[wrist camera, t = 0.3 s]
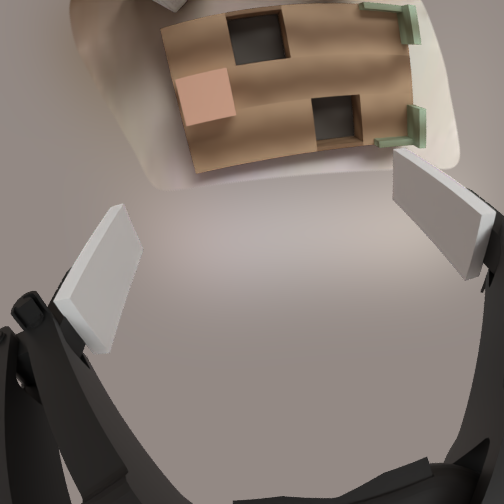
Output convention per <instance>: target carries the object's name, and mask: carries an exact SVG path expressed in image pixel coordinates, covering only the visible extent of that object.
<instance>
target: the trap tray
mask: <svg viewBox="0 0 504 504" xmlns="http://www.w3.org/2000/svg"><path fill="white" fill-rule="evenodd" d="M269 14H274V15H269ZM277 14H278V16H277ZM261 15H265V16H261ZM253 16H257V17H253ZM246 17H250V18H246ZM240 18H243V19H240ZM234 19H237V20H234ZM278 19H279V21H278ZM228 20H231V21H228ZM227 24H228V26H227ZM279 24H280V26H279ZM228 29H229V30H228ZM280 29H281V31H280ZM160 30H161V34H162V39H163V43H164V48H165V52H166V56H167V61H168V65H169V69H170V73H171V78H172V82H173V86H174V90H175V94H176V98H177V102H178V106H179V110H180V114H181V118H182V122H183V126H184V130H185V134H186V138H187V141H188V145H189V149H190V153H191V157H192V160H193V164H194V168H195V172H196V174H198V173H202V172H206V171H211V170H216V169H220V168H225V167H230V166H235V165H240V164H245V163H250V162H255V161H261V160H266V159H272V158H278V157H284V156H290V155H296V154H303V153H309V152H316V151H323V150H331V149H339V148H347V147H356V146H365V145H376V146H377V147H379V148H383V147H394V146H406V145H414V146H416V147H418V148H426V109H425V108H422V107H419V106H416V105H413V93H412V78H411V67H410V57H409V48H408V45H421V38H420V31H419V24H418V18H417V12H416V7H415V6H414V5H404V6H399V5H391V4H381V3H370V2H362V3H360V4H345V3H314V4H292V5H279V6H269V7H260V8H252V9H245V10H239V11H233V12H227V13H222V14H217V15H212V16H207V17H202V18H198V19H194V20H190V21H186V22H182V23H178V24H174V25H171V26H167V27H164V28H161V29H160ZM229 34H230V35H229ZM281 34H282V37H281ZM230 39H231V40H230ZM282 39H283V42H282ZM231 43H232V45H231ZM283 44H284V47H283ZM232 48H233V49H232ZM284 49H285V52H284ZM233 53H234V54H233ZM285 55H286V59H281V58H285ZM234 58H235V59H234ZM273 59H278V60H273ZM266 60H270V61H266ZM259 61H263V62H259ZM235 62H236V64H235ZM252 62H256V63H252ZM246 63H250V64H246ZM241 64H244V65H241ZM236 65H238V66H236ZM222 68H227V72H228V76H229V81H230V86H231V91H232V96H233V100H234V105H235V110H236V115H235V116H230V117H225V118H221V119H216V120H211V121H207V122H203V123H198V124H194V125H190V126H186V123H185V119H184V115H183V111H182V107H181V103H180V99H179V94H178V90H177V86H176V82H175V80H176V79H179V78H183V77H187V76H191V75H195V74H199V73H203V72H208V71H212V70H217V69H222ZM351 102H352V103H351ZM352 112H353V114H352ZM353 124H354V126H353ZM347 136H349V137H347ZM338 137H340V138H338ZM329 138H332V139H329ZM322 139H324V140H322Z"/></svg>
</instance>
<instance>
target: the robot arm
mask: <svg viewBox="0 0 504 504" xmlns="http://www.w3.org/2000/svg"><path fill="white" fill-rule="evenodd" d="M393 200H394V201H395V202H396V203H397V204H398V205H399V206H400V208H402V209H403V211H404V212H405V213H406V214H407V215H408V216H409V217H410V218H411V219H412V220H413V221H414V222H415V223H416V224H417V225H418V226H419V227H420V229H421V230H422V231H423V232H424V233H425V234H426V235H427V236H428V237H429V239H430V240H431V241H432V242H433V243H434V244H435V245H436V246H437V247H438V249H439V250H440V251H441V252H442V253H443V254H444V256H445V257H446V258H447V259H448V260H449V262H450V263H451V264H452V265H453V267H454V268H455V269H456V270H457V271H458V273H459V274H460V275H461V276H462V278H463V279H464V280H465V281H466V280H469V279H472V278H475V277H478V276H479V275H480V272H481V268H482V265H483V263H484V264H485V265H486V266H487V267H488V268H489V269H488V272H487V275H486V278H485V281H484V284H483V287H482V289H481V292H482V293H483V291H484V289H485V302H484V315H483V323H482V331H481V339H480V346H479V352H478V358H477V363H476V369H475V374H474V379H473V383H472V388H471V392H470V396H469V400H468V404H467V408H466V411H465V415H464V418H463V422H462V425H461V428H460V431H459V434H458V437H457V439H456V440H455V442H454V444H453V445H452V447H451V449H450V450H449V452H448V454H447V456H446V458H445V461H444V463H430V464H429V461H428V458H427V457H425V458H423V459H420V460H418V461H415V462H413V463H410V464H408V465H405V466H402V467H399V468H397V469H394V470H391V471H388V472H385V473H383V474H381V475H380V476H378V477H376V478H374V479H372V480H371V481H369V482H367V483H365V484H363V485H362V486H360V487H358V488H356V489H354V490H352V491H350V492H348V493H346V494H344V495H342V496H340V497H337V498H300V497H285V496H280V497H272V498H263V499H252V500H237V501H233V504H504V216H503V215H502V214H501V213H500V212H498V211H497V210H496V209H495V208H494V207H492V206H491V205H490V204H489V203H487V202H485V200H484V199H482V198H481V197H479V196H478V195H477V194H476V193H474V192H473V191H472V190H470V189H468V188H465V187H464V186H462V185H461V184H460V183H458V182H457V181H456V180H454V179H453V178H451V177H450V176H449V175H447V174H446V173H444V172H443V171H441V170H440V169H438V168H437V167H435V166H434V165H432V164H431V163H429V162H428V161H426V160H425V159H423V158H422V157H420V156H418V155H417V154H415V153H414V152H412V151H410V150H409V149H407V148H399V149H393ZM142 253H143V247H142V245H141V242H140V240H139V238H138V236H137V233H136V231H135V229H134V226H133V224H132V222H131V219H130V217H129V214H128V212H127V210H126V207H125V205H124V203H122V204H119V205H116V206H112V207H111V208H110V209H109V210H108V211H107V213H106V215H105V216H104V217H103V219H102V220H101V222H100V223H99V225H98V226H97V228H96V229H95V231H94V232H93V234H92V236H91V237H90V239H89V240H88V242H87V243H86V245H85V247H84V248H83V250H82V252H81V253H80V255H79V256H78V258H77V260H76V261H75V263H74V265H73V266H72V267H71V268H70V269H69V270H68V271H67V272H66V274H65V276H64V278H63V279H62V282H61V283H60V285H59V287H58V289H57V290H56V292H55V294H54V296H53V297H52V300H51V301H50V303H49V305H48V307H47V306H46V304H45V303H44V301H43V300H42V299H41V297H40V296H39V294H38V293H37V292H36V291H31V292H28V293H26V294H24V295H23V296H22V297H21V298H19V299H18V300H17V302H16V303H15V304H14V306H13V308H12V310H11V315H12V316H13V318H14V319H15V320H16V321H17V323H18V324H19V325H20V327H21V328H22V329H23V330H24V331H23V332H20V333H18V334H16V335H15V333H14V332H13V331H12V330H11V329H10V327H8V326H5V327H3V328H1V329H0V504H71V500H70V497H69V493H68V489H67V485H66V482H65V477H64V473H63V469H62V464H61V459H60V455H59V450H60V452H61V455H62V457H63V459H64V461H65V464H66V466H67V468H68V470H69V472H70V474H71V476H72V478H73V480H74V482H75V484H76V486H77V488H78V490H79V492H80V494H81V496H82V499H83V503H81V504H192V503H191V502H190V501H189V500H187V499H186V498H185V497H183V496H182V495H181V494H180V493H179V492H178V491H177V489H176V488H175V487H174V486H173V485H172V484H171V483H170V481H169V480H168V479H167V478H166V476H165V475H163V473H162V472H161V470H160V469H159V468H158V467H157V465H156V464H155V463H154V461H153V460H152V459H151V458H150V456H149V455H148V454H147V452H146V451H145V449H144V448H143V447H142V446H141V444H140V443H139V441H138V440H137V438H136V437H135V436H134V434H133V433H132V431H131V430H130V429H129V427H128V425H127V424H126V422H125V421H124V419H123V418H122V416H121V415H120V413H119V412H118V410H117V408H116V407H115V405H114V404H113V402H112V400H111V399H110V397H109V396H108V394H107V392H106V390H105V389H104V387H103V385H102V384H101V382H100V380H99V378H98V376H97V375H96V373H95V371H94V369H93V367H92V365H91V363H90V362H89V360H88V358H87V357H86V355H85V354H84V353H83V350H84V347H85V344H86V345H87V347H88V348H89V349H90V350H91V351H92V353H93V354H103V353H110V351H111V347H112V344H113V340H114V337H115V333H116V330H117V327H118V323H119V320H120V317H121V314H122V311H123V307H124V304H125V301H126V298H127V295H128V292H129V289H130V286H131V283H132V280H133V278H134V275H135V272H136V269H137V266H138V264H139V261H140V258H141V255H142ZM16 378H17V379H18V380H19V381H20V382H21V383H22V384H21V385H22V386H20V385H19V384H18V382H17V379H16Z"/></svg>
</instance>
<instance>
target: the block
mask: <svg viewBox="0 0 504 504" xmlns="http://www.w3.org/2000/svg"><path fill="white" fill-rule="evenodd" d="M175 82H176V86H177V90H178V94H179V99H180V103H181V107H182V111H183V115H184V119H185V123H186V126H190V125H194V124H198V123H203V122H207V121H211V120H216V119H221V118H225V117H230V116H235V115H236V110H235V105H234V100H233V96H232V91H231V86H230V81H229V76H228V72H227V68H222V69H217V70H212V71H208V72H203V73H199V74H195V75H191V76H187V77H183V78H179V79H176V80H175Z"/></svg>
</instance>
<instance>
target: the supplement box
mask: <svg viewBox="0 0 504 504" xmlns="http://www.w3.org/2000/svg"><path fill="white" fill-rule="evenodd" d="M153 1H155V2H157V3H158V4H160V5H162V6H164V7H166V8H167V9H169V10H171V11H173V12H175V13H176V12H177V11H178V10H179V9H180V8H181V7H182V6H183V5H184V4H185V2H186V1H187V0H153Z"/></svg>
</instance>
